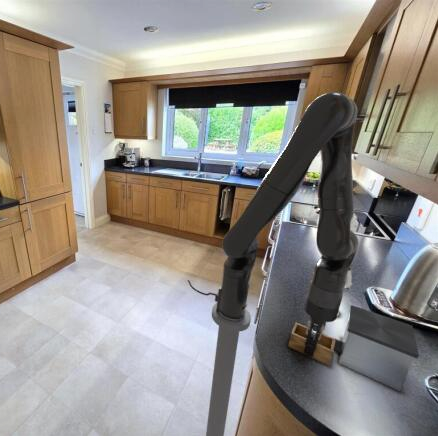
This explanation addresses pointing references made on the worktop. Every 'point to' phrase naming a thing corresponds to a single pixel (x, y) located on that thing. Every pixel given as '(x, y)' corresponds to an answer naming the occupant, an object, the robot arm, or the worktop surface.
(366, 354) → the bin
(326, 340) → the open wooden box
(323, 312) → the robot arm
